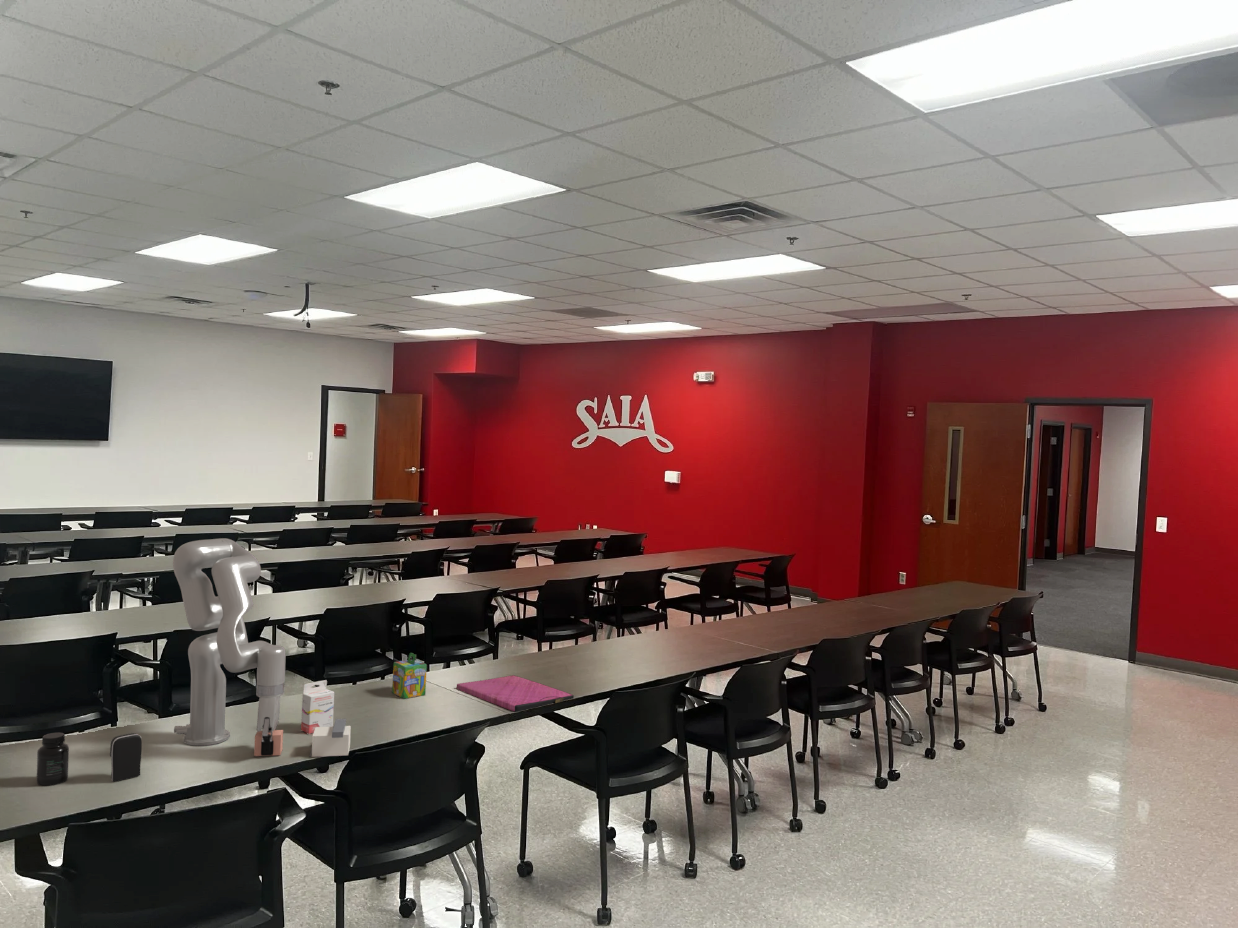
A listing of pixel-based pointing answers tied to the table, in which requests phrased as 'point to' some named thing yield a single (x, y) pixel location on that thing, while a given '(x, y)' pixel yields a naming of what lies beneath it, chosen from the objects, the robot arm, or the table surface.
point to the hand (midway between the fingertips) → (268, 750)
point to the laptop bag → (514, 692)
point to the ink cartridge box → (317, 707)
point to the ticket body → (331, 740)
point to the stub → (276, 745)
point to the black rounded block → (125, 756)
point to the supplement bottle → (52, 760)
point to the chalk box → (409, 678)
